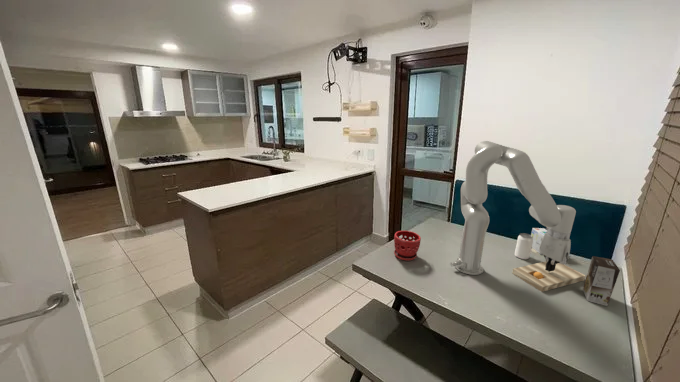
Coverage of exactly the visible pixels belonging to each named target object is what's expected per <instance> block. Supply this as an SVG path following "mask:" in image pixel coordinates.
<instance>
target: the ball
mask: <svg viewBox="0 0 680 382" xmlns="http://www.w3.org/2000/svg"><path fill="white" fill-rule="evenodd" d="M533 276H534V277H536V278H537V279H542V278H543V274H542V273H540V272H535V273H534V275H533Z"/></svg>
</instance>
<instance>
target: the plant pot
mask: <svg viewBox="0 0 680 382" xmlns="http://www.w3.org/2000/svg"><path fill="white" fill-rule="evenodd" d="M400 236H401V238H400ZM421 240H422V238H421V236H420V235H419V234H418V233H417V232H414V231H410V230H398V231H396V232H395V233H394V236H393V242H394V243H393V245H394V251H393V254H394V256H395V257H396V258H398V259H399V260H401V261H402V260H403V261H408V262H409V261H413V260H415V259H416V258H417V255H418V251H419V249H420V246H421Z"/></svg>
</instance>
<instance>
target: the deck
mask: <svg viewBox="0 0 680 382" xmlns="http://www.w3.org/2000/svg"><path fill="white" fill-rule="evenodd" d="M545 269H546V260H544V261H542V262H541V261H540V262H537V263H533V264H528V265H524V266H520V267H513V269H512V272H511V273H512V274H513V275H514V276H515V277H517V278H519V279H520V280H522V281H524V282H525V283H527V284H528V285H530V286H532V287H533V288H534V289H536V290H538V291H540V292H541V293H543V292H547V291H550V290H554V289H557V288H561V287H565V286H568V285H569V286H570V285H573V284H576V283H580V282H585V280H586V276H587V274H586V275H585V274H584V273H581V272H580V271H578V270H575V269H574V268H572V267H569V266H567V265H566V264H564V265H563V264H559V263H558V264H556V266H555V270H554V271H550V272H548V271H547V270H545ZM535 272H540V273H542V274H543V278H542V279H537V278H536V277H534V276H533V275H534V273H535Z"/></svg>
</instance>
